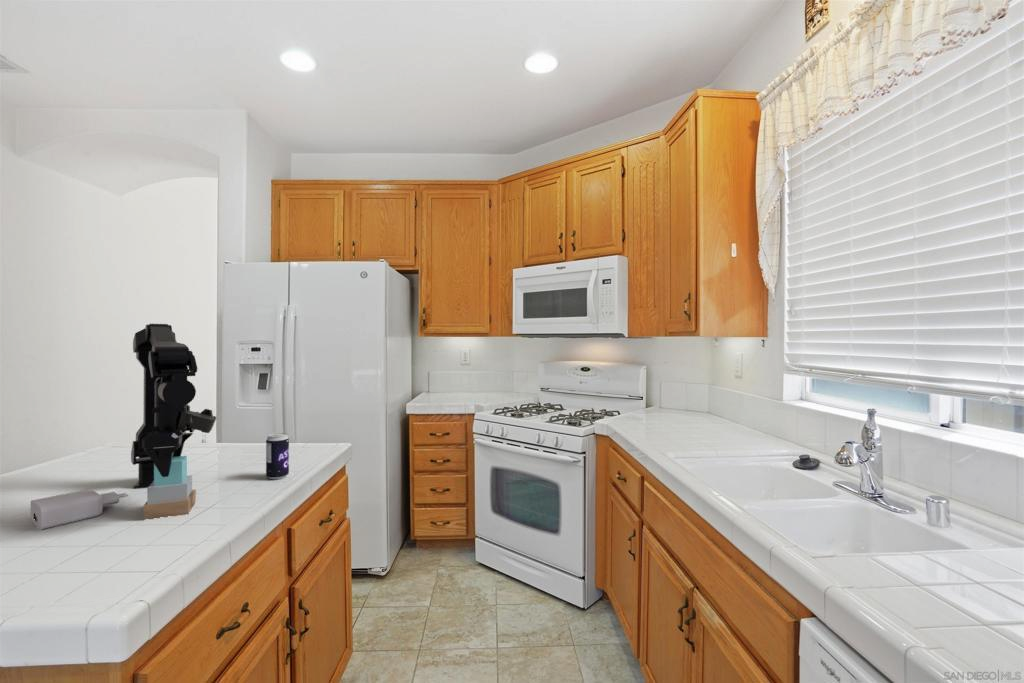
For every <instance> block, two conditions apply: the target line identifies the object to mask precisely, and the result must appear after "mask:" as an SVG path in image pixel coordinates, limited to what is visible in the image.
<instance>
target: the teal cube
mask: <svg viewBox="0 0 1024 683" xmlns="http://www.w3.org/2000/svg"><path fill="white" fill-rule="evenodd" d="M187 466H188V456H187V455H181V456H178V457H173V458H172V463H171V468H170V472H169V476H168V477H162V476H161V474H160V472H159V471H158V469H157V467H156V466H155V464H154V486H163V485H172V484H181V483H183V481H184V480H185V479H186V478H187V476H188V470H187V469H188V467H187Z"/></svg>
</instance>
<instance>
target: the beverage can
mask: <svg viewBox="0 0 1024 683" xmlns="http://www.w3.org/2000/svg"><path fill="white" fill-rule="evenodd" d="M289 446H290V437H289V436H288V433H285V432H277V433H271V434H268V435H267V438H266V440H265V447H266V448H265V477H267V478H268V479H269V480H271V479H277V480H281V478H282V479H285V478H286V477H287V476H288V475H289V472H290V447H289ZM284 477H285V478H284Z"/></svg>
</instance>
